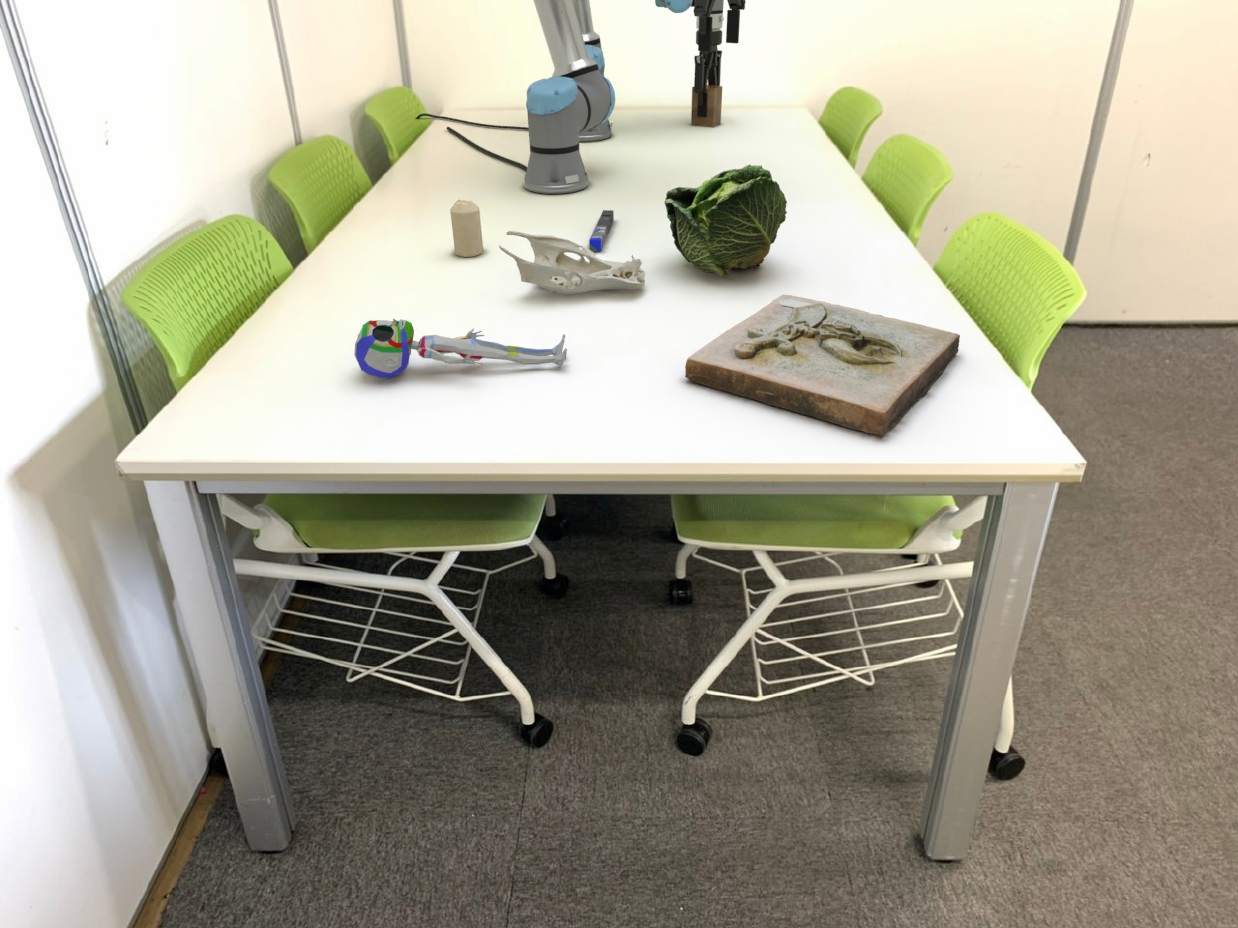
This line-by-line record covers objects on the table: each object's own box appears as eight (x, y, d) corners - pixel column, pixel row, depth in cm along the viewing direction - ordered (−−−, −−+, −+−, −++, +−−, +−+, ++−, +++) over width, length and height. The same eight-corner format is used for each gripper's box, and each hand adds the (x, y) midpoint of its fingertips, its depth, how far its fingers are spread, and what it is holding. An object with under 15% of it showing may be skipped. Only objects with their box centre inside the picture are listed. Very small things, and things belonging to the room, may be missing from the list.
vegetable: (694, 294, 173) (643, 202, 166) (775, 239, 175) (728, 145, 167) (734, 307, 155) (678, 205, 147) (824, 245, 156) (773, 141, 149)
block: (713, 127, 268) (714, 89, 262) (691, 124, 271) (692, 87, 265) (720, 124, 271) (722, 86, 266) (698, 121, 275) (700, 84, 269)
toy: (569, 347, 126) (349, 329, 122) (563, 400, 131) (350, 385, 126) (565, 318, 135) (359, 301, 130) (559, 369, 139) (360, 354, 134)
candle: (488, 249, 176) (483, 198, 171) (475, 258, 172) (470, 206, 167) (463, 246, 178) (457, 196, 173) (450, 255, 174) (443, 204, 168)
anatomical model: (512, 224, 162) (649, 224, 158) (517, 273, 167) (650, 274, 163) (490, 252, 149) (637, 253, 146) (496, 304, 154) (639, 306, 151)
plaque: (892, 390, 109) (684, 332, 124) (883, 441, 113) (682, 379, 127) (971, 312, 130) (784, 271, 145) (961, 357, 134) (780, 312, 148)
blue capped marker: (613, 210, 190) (600, 241, 173) (613, 220, 191) (600, 251, 174) (603, 210, 190) (589, 240, 173) (603, 220, 191) (589, 251, 174)
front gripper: (713, -65, 172) (708, 56, 183) (765, -69, 190) (758, 40, 201) (678, -65, 175) (676, 53, 187) (732, -69, 193) (727, 39, 204)
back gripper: (706, 34, 249) (703, 121, 261) (734, 26, 262) (730, 110, 274) (682, 32, 252) (681, 119, 265) (711, 25, 265) (708, 108, 278)
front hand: (718, 47), depth 194 cm, fingers open, 13 cm apart
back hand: (706, 114), depth 270 cm, fingers closed on block, 5 cm apart
